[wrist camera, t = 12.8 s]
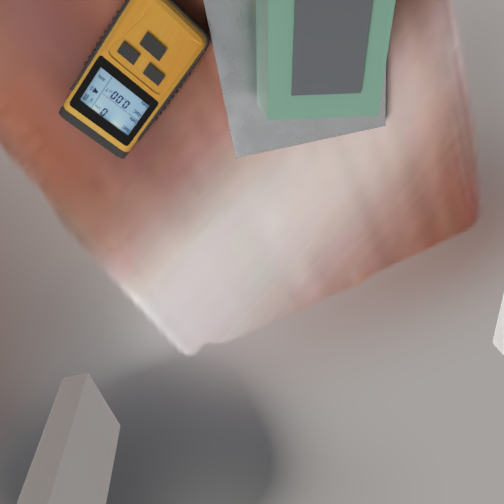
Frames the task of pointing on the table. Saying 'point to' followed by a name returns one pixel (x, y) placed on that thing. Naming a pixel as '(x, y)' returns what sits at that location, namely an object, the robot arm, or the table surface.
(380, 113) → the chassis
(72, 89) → the electronic device
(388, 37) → the block
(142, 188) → the table surface
